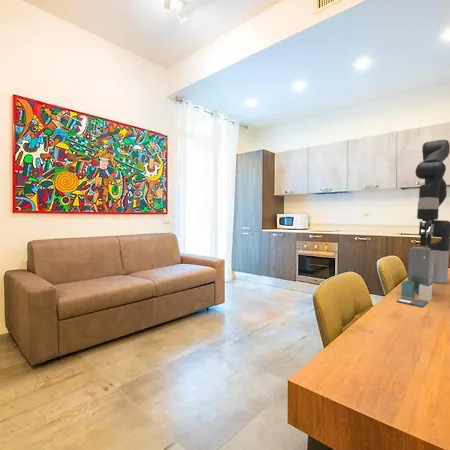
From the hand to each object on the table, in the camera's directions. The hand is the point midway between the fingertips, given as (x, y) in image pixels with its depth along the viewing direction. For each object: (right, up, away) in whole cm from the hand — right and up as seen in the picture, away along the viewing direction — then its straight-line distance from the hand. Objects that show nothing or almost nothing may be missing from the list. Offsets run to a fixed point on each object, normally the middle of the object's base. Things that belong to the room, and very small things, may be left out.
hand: (425, 245), depth 125 cm
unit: (+3, -22, +9) cm, 24 cm away
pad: (-11, -23, -8) cm, 26 cm away
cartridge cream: (-2, -23, -2) cm, 23 cm away
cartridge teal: (-6, -23, +2) cm, 23 cm away
